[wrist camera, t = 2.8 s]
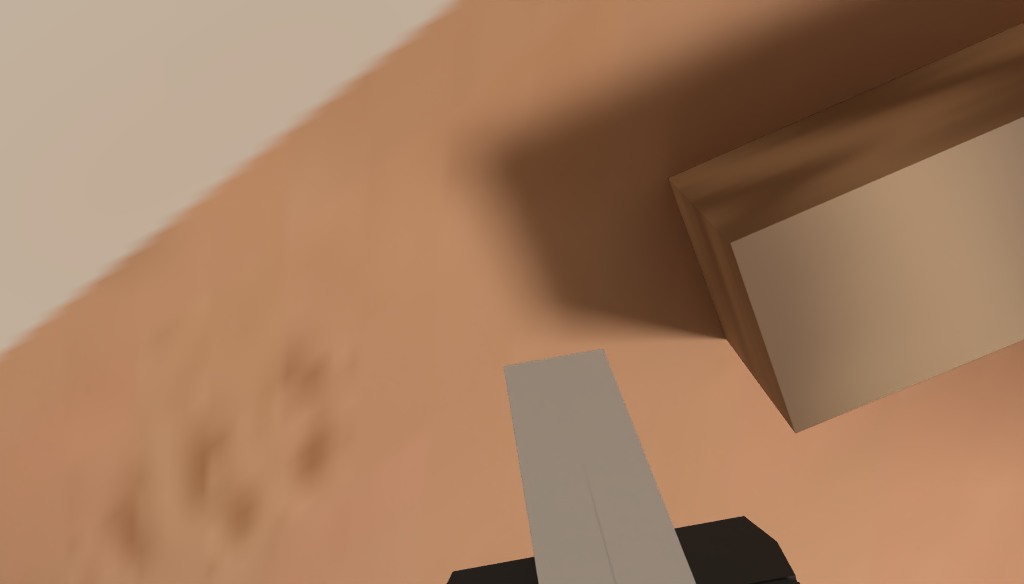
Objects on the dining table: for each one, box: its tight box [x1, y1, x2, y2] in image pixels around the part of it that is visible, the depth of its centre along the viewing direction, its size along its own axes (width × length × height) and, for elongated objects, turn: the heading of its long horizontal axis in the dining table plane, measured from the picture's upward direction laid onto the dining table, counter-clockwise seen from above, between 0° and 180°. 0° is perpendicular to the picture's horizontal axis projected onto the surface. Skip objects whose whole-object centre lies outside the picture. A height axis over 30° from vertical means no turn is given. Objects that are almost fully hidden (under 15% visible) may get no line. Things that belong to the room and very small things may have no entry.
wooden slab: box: [668, 23, 1024, 433], centre depth 20 cm, size 14×5×5 cm, turn 113°
